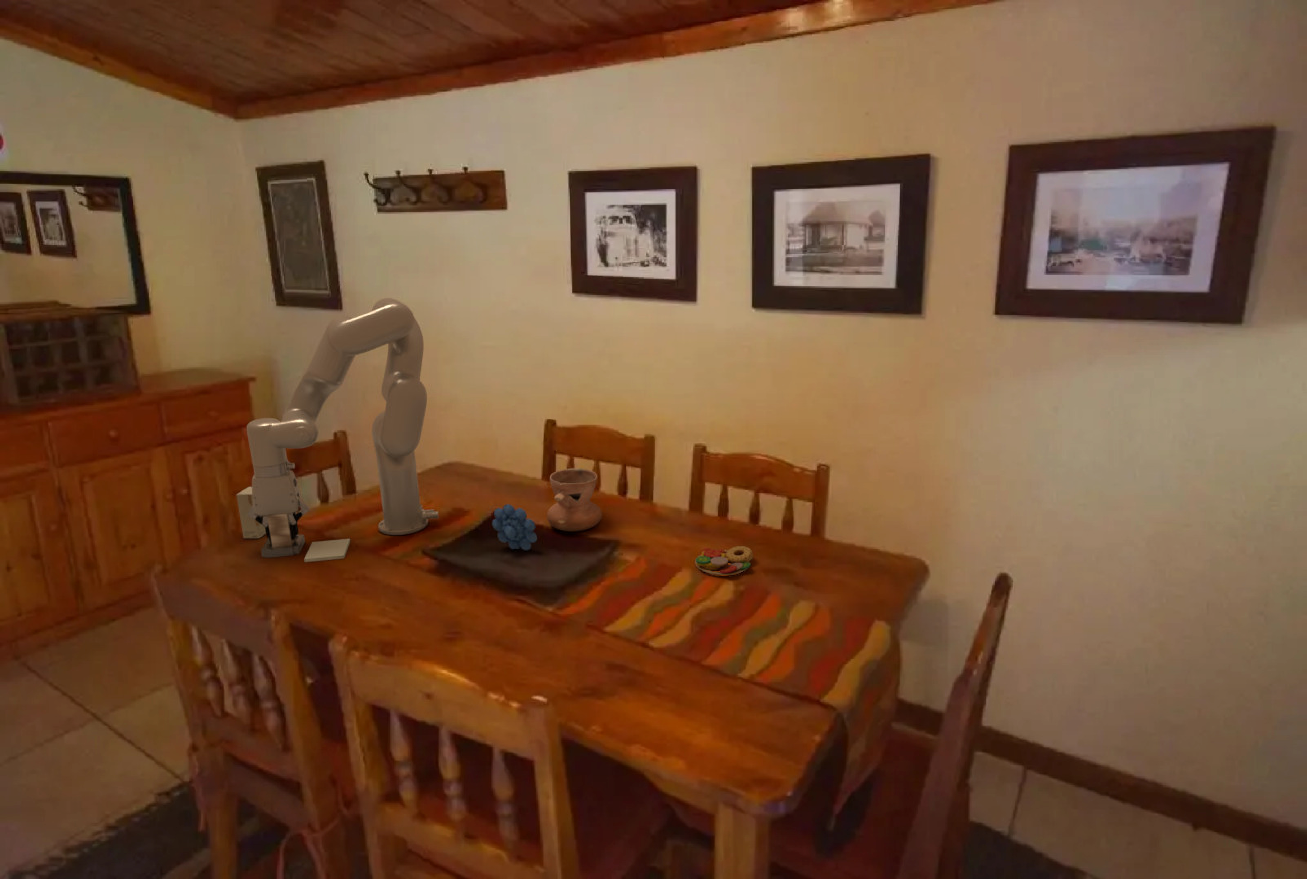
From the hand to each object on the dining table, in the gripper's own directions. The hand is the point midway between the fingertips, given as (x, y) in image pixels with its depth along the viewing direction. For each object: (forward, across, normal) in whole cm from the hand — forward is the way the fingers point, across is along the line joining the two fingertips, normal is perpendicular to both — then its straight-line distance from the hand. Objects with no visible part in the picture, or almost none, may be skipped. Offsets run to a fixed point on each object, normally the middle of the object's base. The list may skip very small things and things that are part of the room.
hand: (283, 537), depth 191 cm
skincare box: (+3, +9, -12) cm, 15 cm away
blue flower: (+4, -56, +15) cm, 58 cm away
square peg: (+3, 0, 0) cm, 3 cm away
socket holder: (+3, 0, 0) cm, 3 cm away
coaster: (+3, -11, +4) cm, 12 cm away
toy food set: (+4, -104, +35) cm, 109 cm away
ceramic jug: (+4, -73, +2) cm, 73 cm away
